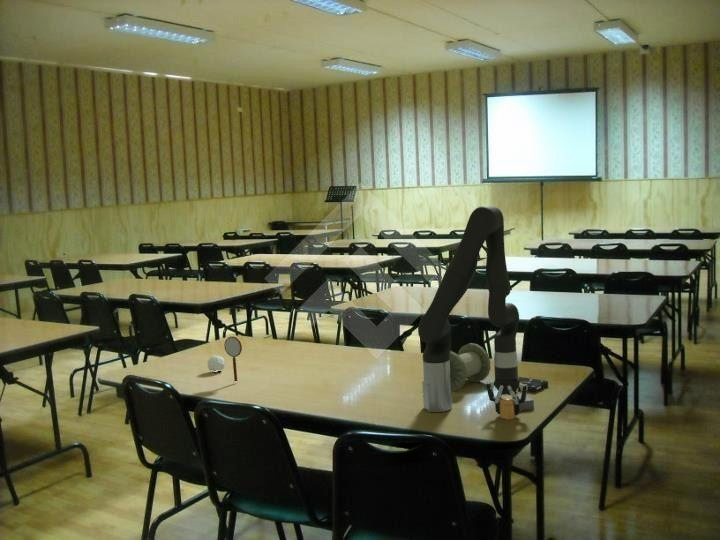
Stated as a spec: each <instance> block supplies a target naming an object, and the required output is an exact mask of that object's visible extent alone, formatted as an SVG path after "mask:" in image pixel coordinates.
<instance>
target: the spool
mask: <svg viewBox="0 0 720 540" xmlns="http://www.w3.org/2000/svg"><path fill="white" fill-rule="evenodd" d="M449 358H450V378H451V392H455V391H457V390H460V389H461V388H462V387H463V386H465V384H466V381H468V382H473V383H479V382H481V381H484V380H485V379H487V377H488V376H489V374H490V372H491V360H490V357H489V353H487V351H486V350H485V349H484V347H483V346H481V345H479V344H477V343H472V342H470V343H467V344H464V345H462V346H461V347H460V349H459V350H458V353H456V352H454V351H452V350H451V351H450V356H449Z"/></svg>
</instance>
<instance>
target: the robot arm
mask: <svg viewBox="0 0 720 540" xmlns="http://www.w3.org/2000/svg"><path fill="white" fill-rule="evenodd" d="M504 223H505V220H504V215H503V212H502V211H501V209H499V208H498V207H497V206H494V205H483V206H479V207H476V208H475V209H474V210H473V211H472V212H471V213H470V215H469V218H468V220H467V223H466V226H465V228H464V232H463V235H462V237H461V240H460V242H459V244H458V246H457V247H456V249H455V251H454V254H453V256H452V257H451V260H450V261H449V264H448V266H447V268H446V270H445V272H444V274H443V276H442V279H441V281H440V283H439V284H438V285H439V286H438V288H437V290H436V292H435V294H434V296H433V299H432V301H431V303H430V305H429V307H428V308H427V310H426V312H425V314H424V315H423V316H422V318H421V319H420V322H419V323H418V328H417V334H418V337H419V338H420V340H421V342H423V343H425V344H426V345H425V348H424V351H423V353H422V366H423V381H422V383H421V384H422V399H423V401H422V402H423V409H425V411H427V412H428V413H442V412H447V411H450V410H452V408H453V404H452V403H453V401H452V391H451V378H450V358H449V356H450V351H452V328H451V322H450V320H449V316H450V314H451V313H452V311H453V310H454V307H456V305H458V303H459V302H460V301H461V299H462V298H463V296H464V295H465V294H466V293H467V291H468V290H469V287H470V285H471V283H472V282H473V279H474V277H475V274H476V271H477V269H478V261H479V255H480V252H481V249H482V247H483V245H484V243H485V246H486V262H485V277H486V279H485V280H486V283H487V288H488V289H487V290H488V299H487V300H488V302H487V303H488V304H487V315H488V316H487V317H488V319H489V321H490V323H491V325H493V326H494V327H495V328H499V330H498V332H496V334H495V335H494V338H493V345H494V347H493V348H494V354H493V355H494V356H493V359H494V361H493V364H494V381H493V382H491V381H488V382H486V384H485V387H486V391H487V395H488V398H489V399H488V400H489V401H490V402H494V404H495V406H494V407H495V408H494V409H495V413H497V415H500V408H499V404H500V398H501V396H505V395H511V396H512V398H513V400H514V402H515V405H514V407H515V415H516V416H518V414H520V413H521V410H520V403H524V401H525V400H526V396H528V395H527V394H528V392H527V389H528V385H527V384H525V385H524V384H520V382H519V380H518V377H519V368H518V367H519V366H518V363H519V362H518V361H519V360H518V355H517V339H516V337H517V334H518V329H519V323H520V313H519V310H518V307H517V306H516V305H515V304H514V303H512V302H506V300H507V297H508V296H509V295H510V294H511V285H510V280H509V274H508V273H509V272H508V268H507V262H506V261H507V260H506V253H505V252H506V251H505V250H506V249H505V224H504ZM494 387H495V388H496V390H497V394H496V396H495V393H494V390H493V389H494ZM518 387H520V389H521V391H520V392H521V393H522V395H521V399H519V397H518V394H519V392H518V393H517V391H516V390H517V388H518Z"/></svg>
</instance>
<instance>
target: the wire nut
mask: <svg viewBox="0 0 720 540" xmlns="http://www.w3.org/2000/svg"><path fill="white" fill-rule="evenodd" d="M514 405H515V402H514V400H513V398H512V397H502V398H500V404H499V408H500V414H499V417H500V418H501V419H505V420H513V419H515V418H516V417H517V415H515V407H514Z"/></svg>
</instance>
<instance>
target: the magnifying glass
mask: <svg viewBox="0 0 720 540" xmlns="http://www.w3.org/2000/svg"><path fill="white" fill-rule="evenodd" d="M242 350H243V346H242V342H241V340H239V338H237V337H236V336H228V337H227V338H226V339H225V341H224V351H225V352H226V353H227V355H228V356H230V357H232V368H233V378H234V379H233V380H234V382H235V381H237V382H238V373H237V361H236V360H237V359H236V357H238V356H240V355H241V353H242Z"/></svg>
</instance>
